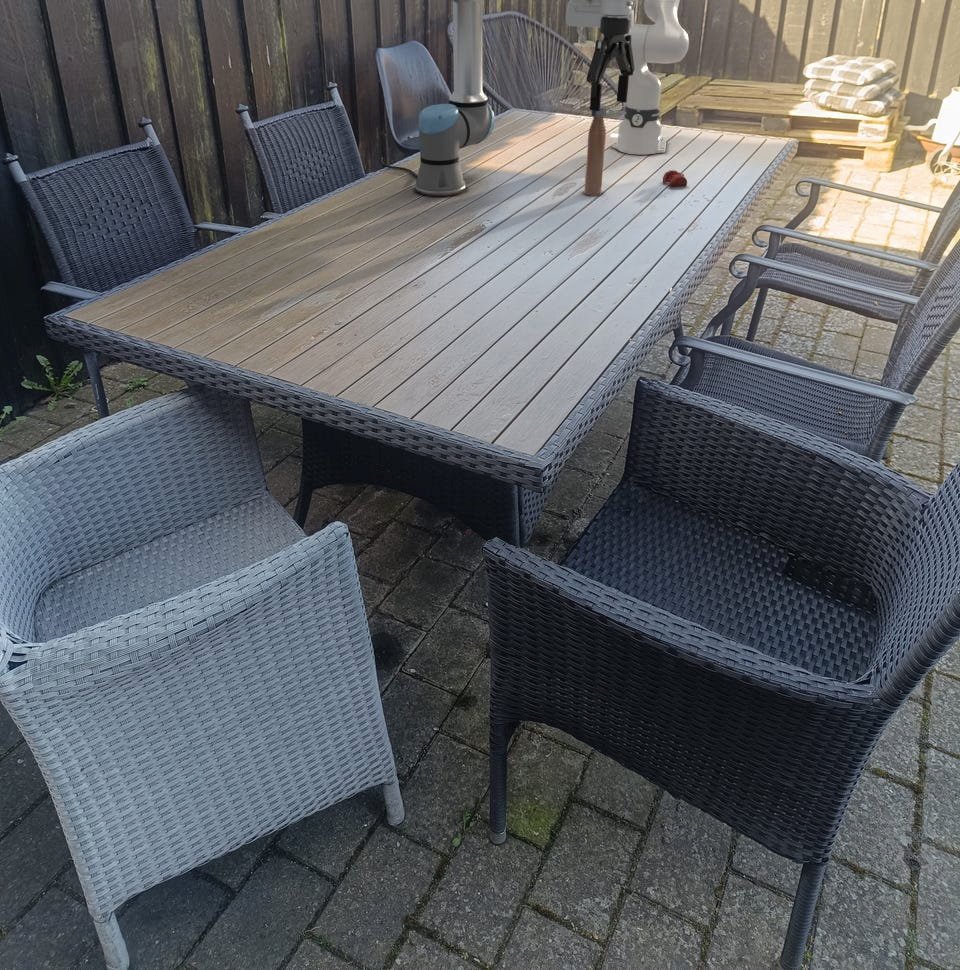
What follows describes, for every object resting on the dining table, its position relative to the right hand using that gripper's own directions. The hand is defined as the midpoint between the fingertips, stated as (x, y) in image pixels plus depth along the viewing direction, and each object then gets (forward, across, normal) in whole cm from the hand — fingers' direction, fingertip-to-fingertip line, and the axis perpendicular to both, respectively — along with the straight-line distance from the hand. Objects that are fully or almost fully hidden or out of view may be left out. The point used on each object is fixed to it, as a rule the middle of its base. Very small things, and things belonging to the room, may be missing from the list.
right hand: (597, 44), depth 253 cm
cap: (+13, -8, +22) cm, 26 cm away
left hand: (+9, -15, +37) cm, 41 cm away
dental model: (+37, -29, +4) cm, 47 cm away
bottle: (+37, -8, +21) cm, 44 cm away
